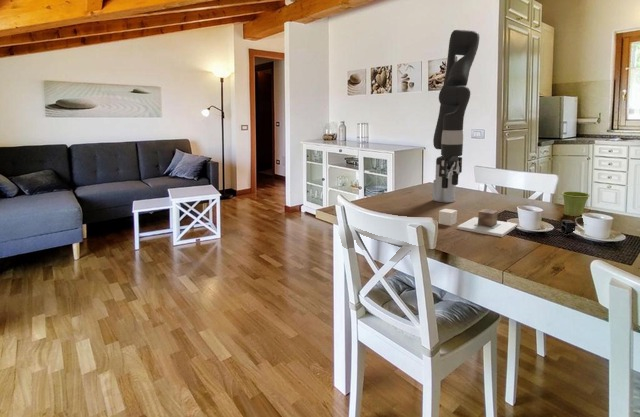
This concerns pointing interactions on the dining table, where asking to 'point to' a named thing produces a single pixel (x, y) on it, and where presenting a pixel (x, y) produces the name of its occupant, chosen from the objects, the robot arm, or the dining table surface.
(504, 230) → the board
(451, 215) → the cream block
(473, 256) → the dining table surface
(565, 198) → the plant pot
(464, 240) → the dining table surface
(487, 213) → the walnut block
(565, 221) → the black irregular block
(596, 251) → the dining table surface
